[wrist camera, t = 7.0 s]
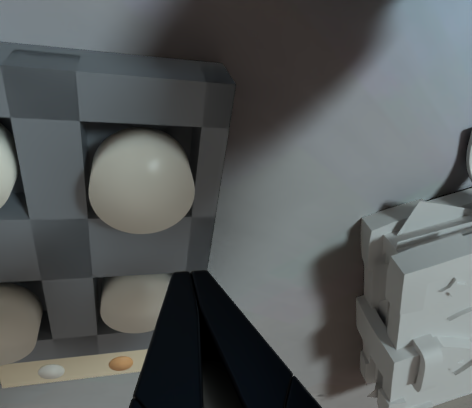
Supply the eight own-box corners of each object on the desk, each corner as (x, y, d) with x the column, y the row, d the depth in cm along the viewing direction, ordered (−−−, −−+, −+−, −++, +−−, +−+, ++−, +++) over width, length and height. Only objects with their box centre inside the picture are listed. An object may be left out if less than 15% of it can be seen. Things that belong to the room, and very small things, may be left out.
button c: (177, 256, 23) (180, 281, 22) (172, 304, 26) (175, 329, 24) (100, 260, 22) (98, 286, 20) (103, 310, 24) (101, 336, 23)
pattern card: (168, 319, 29) (169, 323, 28) (165, 365, 32) (165, 369, 32) (-14, 335, 25) (-16, 340, 25) (3, 384, 29) (2, 389, 28)
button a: (193, 129, 17) (199, 150, 16) (185, 208, 20) (190, 232, 18) (88, 124, 16) (84, 146, 14) (94, 208, 18) (91, 235, 17)
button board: (222, 63, 18) (236, 84, 16) (189, 309, 28) (195, 344, 26) (-168, 25, 14) (-227, 46, 12) (-44, 328, 24) (-62, 371, 22)
